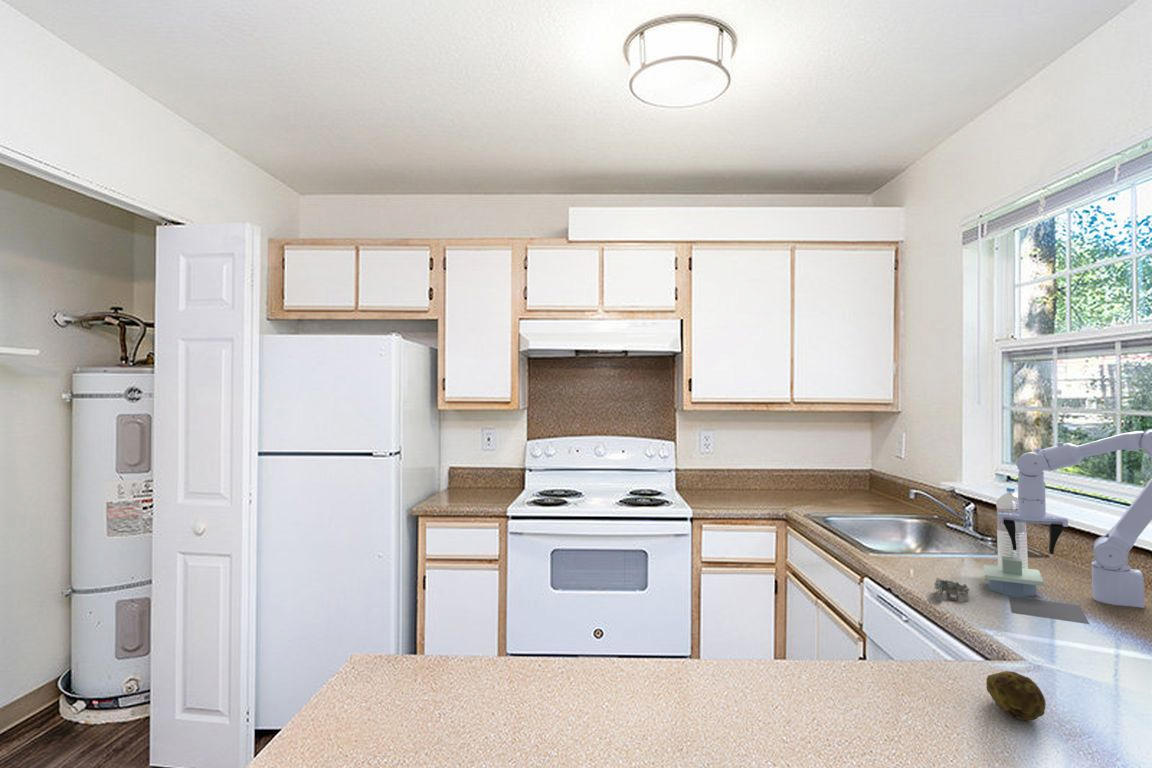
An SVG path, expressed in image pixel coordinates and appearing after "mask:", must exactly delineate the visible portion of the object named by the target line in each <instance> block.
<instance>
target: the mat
mask: <svg viewBox="0 0 1152 768" xmlns="http://www.w3.org/2000/svg"><path fill="white" fill-rule="evenodd" d="M1008 600H1009V605H1010V612H1011V614H1017V615H1022V616H1023V615H1025V616H1031V617H1038V618H1044V619H1045V618H1046V619H1050V620H1052V619H1053V620H1060V621H1066V622H1072V623H1080V624H1086V625H1090V622H1089V620H1088V618H1087V615H1086V614H1085V612H1084V610H1083V609H1082V608H1083V607H1082V606H1081V605H1080V604H1074V603H1073V604H1072V603H1067V602H1059V601H1052V600H1051V601H1050V600H1044V599H1035V598H1029V597H1022V596H1014V595H1008Z"/></svg>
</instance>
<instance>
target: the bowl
mask: <svg viewBox="0 0 1152 768" xmlns="http://www.w3.org/2000/svg"><path fill="white" fill-rule="evenodd" d="M988 589H989V591H990V590H991V591H993V592H996V593H998V594H999V593H1000V594H1001V595H1007V596H1014V597H1022V598H1026V597H1033V596H1037V585H1031V584H1023V583H1014V582H1006V581H998V580H989V579H988Z"/></svg>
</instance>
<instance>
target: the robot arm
mask: <svg viewBox="0 0 1152 768" xmlns="http://www.w3.org/2000/svg"><path fill="white" fill-rule="evenodd" d="M1140 448H1141V449H1142V450H1143V451H1144V453H1146V455H1147V456H1148V457H1149V458H1150V459H1151V461H1152V428H1150V429H1147V430H1136V431H1130V432H1129V431H1128V432H1124V433H1123V432H1122V433H1120V434H1115V435H1112V436H1108V437H1105V438H1101V439H1098V440H1094V441H1090V442H1086V443H1083V444H1080V445H1075V444H1074V443H1072V442H1066V443H1064V442H1063V441H1060V442H1057V443H1056V445H1053V446H1050V447H1046V448H1043V449H1040V448H1039V447H1037V448H1035V449H1034V451H1033V452H1032V451H1029V452H1028V451H1027V452H1025V453H1023V454H1021V455H1020V456H1019V457H1018V458H1017V461H1016V467H1017V469H1018V474H1017V477H1018V480H1017V495H1018V510H1019V513H998V520H999V521H1003V523H1004V525H1005V527H1006V529H1007V531H1008V533H1009V536H1010V538H1011V541H1012V546H1013V550H1016V538H1015V522H1023V523H1026V524H1034V525H1035V524H1038V525H1047V526H1048V532H1049V534H1048V535H1049V541H1048V542H1049V543H1048V544H1049V545H1048V552H1049V553H1048V554H1050V555H1054V553H1055V552H1054V551H1055V548H1056V545H1057V542H1058V539H1059V538H1060V537H1061V534H1062V532H1063V531H1064V527H1066V528H1068V527H1069V519H1068V517H1060V516H1053V515H1047V513H1046V512H1047V510H1046V507H1047V505H1046V482H1045V478H1044V477H1045V476H1044V474H1045V473H1044V471H1049V472H1051V471H1057V470H1061V469H1064V468H1069V467H1072V466H1073V467H1074V466H1078V465H1080V463H1081V462H1082V460H1083V459H1084V458H1088V457H1093V456H1098V455H1102V454H1107V453H1111V452H1117V451H1123V450H1124V451H1131V452H1136V453H1140ZM1151 521H1152V477H1151V478H1150V479H1149V480H1148V482H1147V483H1146V484H1145V486H1144V487H1143V489H1142V490H1141V491H1140V492H1139V494H1138V495H1137V496H1136V497H1135V499H1134V500H1133V501H1132V502H1131V504H1130V505H1129V506H1128V508H1127V509H1126V511H1125V512H1124V513H1123V514H1122V516H1121V517H1120V518H1119V520H1118V521H1117V522H1116V524H1114V526H1112V528H1111V529H1109V530H1108V532H1107V533H1105V535H1103V536H1100V537H1098V538H1096V539H1095V540H1094V543H1093V547H1092V548H1093V552H1092V553H1093V558H1094V560H1093V561H1091V562H1090V563H1091V586H1092V587H1091V589H1092V591H1091V592H1092V594H1091V595H1092V599H1093V600H1094V601H1097V602H1099V603H1101V604H1102V603H1103V604H1107V605H1114V606H1124V607H1134V608H1141V609H1145V606H1146V603H1145V580H1144V576H1143V573H1142V571H1141V570H1140V569H1135V568H1134V569H1133V568H1131V565H1129V564H1128V561H1129V553H1130V551H1131V550H1132V548H1133V547H1134V545H1135V543H1136V541H1137V539H1138V538H1139V537H1140V535H1142V533H1143V532H1144V530H1145V529H1146V528H1147V527H1148V525H1149V524H1150V523H1151Z"/></svg>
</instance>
